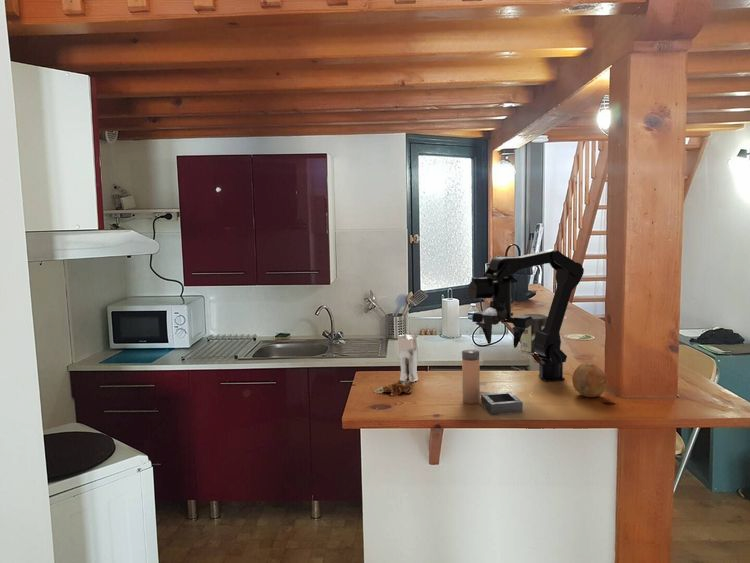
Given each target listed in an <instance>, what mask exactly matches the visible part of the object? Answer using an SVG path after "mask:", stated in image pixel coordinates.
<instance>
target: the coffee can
mask: <svg viewBox="0 0 750 563" xmlns="http://www.w3.org/2000/svg"><path fill="white" fill-rule="evenodd" d="M524 315H525V316H531V317H532V319H533V325H531V326H529V327H528V328H526V329H525V330H524V332H523V334H522V336H521V338H520V353H522V354H525V355H530V356H535V355H534V352H535V350H534V348H533V345H534V343H533V340H534V338H535V333H536V331H539V332H541V331H542V330H543V329H544V327H545V324H546V321H547V317H548V315H545V314H539V313H529V314H528V313H527V314H524Z"/></svg>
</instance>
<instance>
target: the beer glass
mask: <svg viewBox="0 0 750 563" xmlns="http://www.w3.org/2000/svg"><path fill="white" fill-rule="evenodd" d="M418 339H419V338H418V335H416V334H409V333H407V334H400V335H398V336H397V356H398V360H399V366H400V377H399V380H400V381H399V382H402V383H404V382H407V383H408V382H410V383H415V381H416V382H417V381H419V377H418V371H417V367H418V366H417V365H418V360H419V340H418Z"/></svg>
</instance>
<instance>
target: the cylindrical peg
mask: <svg viewBox="0 0 750 563" xmlns="http://www.w3.org/2000/svg"><path fill="white" fill-rule="evenodd" d="M461 365H462V366H461V368H462V369H461V370H462V371H461V372H462V373H461V374H462V377H461V378H462V380H461V381H462V402H463V403H464V404H468V405H475V404H478V403H481V392H480V391H481V390H480V389H481V385H480V384H481V383H480V382H481V381H480V379H481V378H480V374H481V373H480V351H479V350H477V349H464V350H462V351H461Z"/></svg>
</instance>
